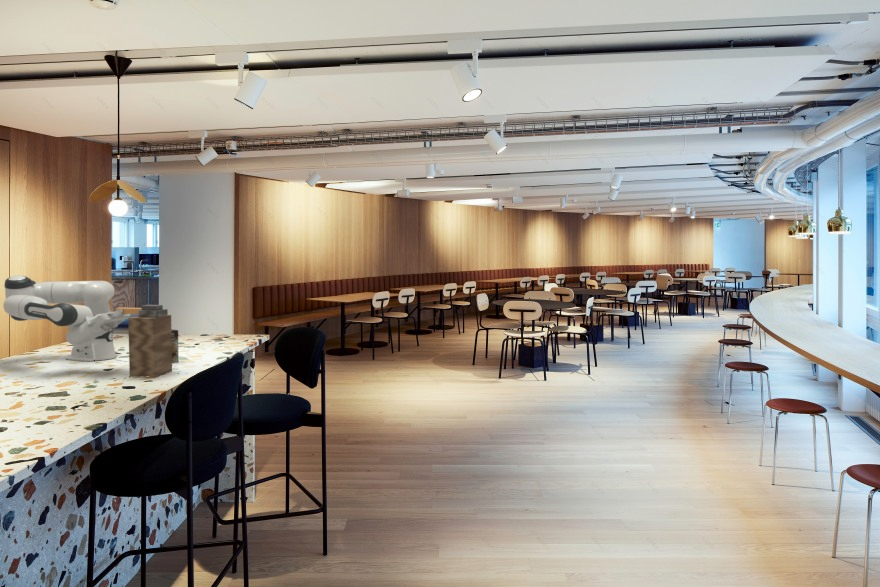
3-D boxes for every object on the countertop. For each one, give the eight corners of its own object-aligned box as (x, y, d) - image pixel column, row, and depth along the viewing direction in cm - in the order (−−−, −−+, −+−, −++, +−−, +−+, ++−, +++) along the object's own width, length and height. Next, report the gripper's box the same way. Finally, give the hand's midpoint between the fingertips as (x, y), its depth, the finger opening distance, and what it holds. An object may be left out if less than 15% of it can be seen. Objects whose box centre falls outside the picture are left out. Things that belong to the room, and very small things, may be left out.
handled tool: (114, 313, 267) (114, 304, 267) (121, 312, 272) (121, 303, 272) (156, 315, 266) (156, 306, 266) (162, 313, 271) (162, 305, 271)
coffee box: (161, 364, 291) (160, 331, 290) (154, 363, 295) (154, 330, 293) (179, 362, 298) (178, 330, 297) (172, 360, 302) (171, 328, 301)
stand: (129, 376, 265) (128, 311, 262) (147, 370, 278) (145, 307, 276) (155, 377, 264) (154, 311, 262) (172, 370, 278) (171, 308, 275)
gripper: (82, 320, 260) (108, 305, 259) (110, 315, 281) (135, 301, 279) (89, 333, 261) (115, 318, 259) (117, 327, 281) (141, 313, 280)
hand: (125, 309), depth 270 cm, fingers closed on handled tool, 3 cm apart
